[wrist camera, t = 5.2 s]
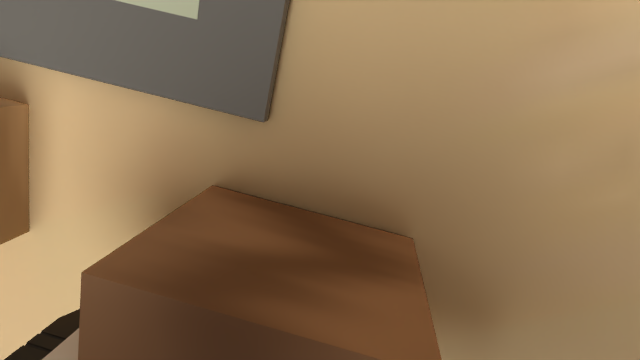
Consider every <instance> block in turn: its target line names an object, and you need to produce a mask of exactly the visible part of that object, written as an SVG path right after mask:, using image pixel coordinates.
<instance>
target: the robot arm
mask: <svg viewBox="0 0 640 360" xmlns="http://www.w3.org/2000/svg"><path fill="white" fill-rule="evenodd" d="M79 322H80V309H79V310H76V311H74V312H72V313H69V314H67V315H65V316H62V317H60V318H58V319H57V320H56V321H54V322H53V323H52V324H50V325H49V326H48V327H46V328H45V329H44V330H42V332H41V334H37V335H36V336H35V337H33V338H32V339H31V340H29V341H28V342H27V344H26V345H25V346H24V345H23V346H22V347H20V348H19V349H18V350H16V351H15V352H14V353H12V354H11V355H10V356H8V357H7V358H6V359H4V360H78V346H79Z"/></svg>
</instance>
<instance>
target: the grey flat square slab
mask: <svg viewBox="0 0 640 360" xmlns="http://www.w3.org/2000/svg"><path fill="white" fill-rule="evenodd" d="M289 1H290V0H0V57H4V58H8V59H12V60H16V61H20V62H24V63H28V64H32V65H36V66H40V67H44V68H48V69H52V70H56V71H60V72H64V73H68V74H72V75H76V76H80V77H84V78H88V79H92V80H96V81H100V82H104V83H108V84H112V85H116V86H120V87H124V88H128V89H132V90H136V91H140V92H144V93H148V94H152V95H156V96H160V97H164V98H168V99H172V100H176V101H180V102H184V103H188V104H192V105H196V106H200V107H204V108H208V109H212V110H216V111H221V112H225V113H229V114H233V115H237V116H241V117H245V118H249V119H253V120H257V121H261V122H265V121H267V120H268V115H269V110H270V105H271V99H272V94H273V88H274V83H275V77H276V72H277V66H278V61H279V56H280V50H281V45H282V39H283V34H284V28H285V23H286V17H287V12H288V6H289Z"/></svg>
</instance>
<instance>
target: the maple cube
mask: <svg viewBox="0 0 640 360" xmlns="http://www.w3.org/2000/svg"><path fill="white" fill-rule="evenodd" d="M27 232H29V105H28V104H24V103H20V102H17V101H13V100H9V99H5V98H1V97H0V244H3V243H5V242H7V241H9V240H11V239H13V238H16V237H18V236H20V235H22V234H24V233H27Z"/></svg>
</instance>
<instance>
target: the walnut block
mask: <svg viewBox="0 0 640 360" xmlns="http://www.w3.org/2000/svg"><path fill="white" fill-rule="evenodd" d="M78 360H441V355H440V351H439V347H438V343H437V338H436V334H435V330H434V326H433V322H432V317H431V313H430V309H429V305H428V300H427V296H426V292H425V288H424V284H423V279H422V275H421V271H420V267H419V262H418V258H417V254H416V250H415V246H414V241H413V239H412V238H408V237H405V236H401V235H397V234H393V233H390V232H386V231H382V230H378V229H375V228H371V227H367V226H363V225H359V224H356V223H352V222H348V221H344V220H341V219H337V218H333V217H329V216H326V215H322V214H318V213H314V212H310V211H307V210H303V209H299V208H295V207H292V206H288V205H284V204H280V203H277V202H273V201H269V200H265V199H261V198H258V197H254V196H250V195H246V194H243V193H239V192H235V191H231V190H228V189H224V188H220V187H216V186H213V185H212V186H211V187H209V188H208V189H206V190H205V191H203V192H202V193H200V194H199V195H197V196H196V197H194V198H193V199H191V200H190V201H188V202H187V203H185V204H184V205H182V206H181V207H179V208H178V209H176V210H175V211H173V212H172V213H170V214H169V215H167V216H166V217H164V218H163V219H161V220H160V221H158V222H157V223H155V224H154V225H152V226H151V227H149V228H148V229H146V230H145V231H143V232H142V233H140V234H139V235H137V236H136V237H134V238H133V239H131V240H130V241H128V242H127V243H125V244H124V245H122V246H121V247H119V248H118V249H116V250H115V251H113V252H112V253H110V254H109V255H107V256H106V257H104V258H103V259H101V260H99V261H98V262H96V263H95V264H93V265H92V266H90V267H89V268H87V269H86V270H84V271H83V272H82V274H81V298H80V322H79V346H78Z"/></svg>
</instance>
